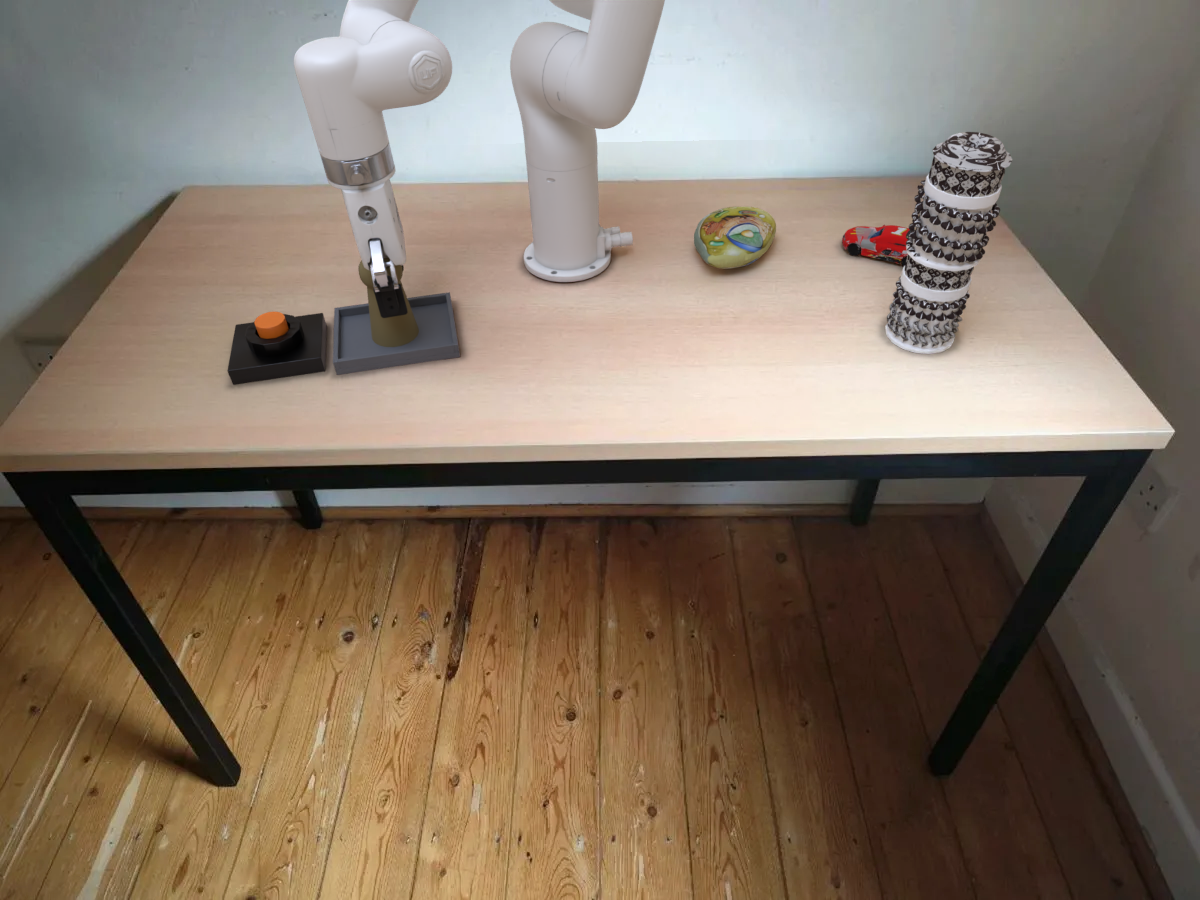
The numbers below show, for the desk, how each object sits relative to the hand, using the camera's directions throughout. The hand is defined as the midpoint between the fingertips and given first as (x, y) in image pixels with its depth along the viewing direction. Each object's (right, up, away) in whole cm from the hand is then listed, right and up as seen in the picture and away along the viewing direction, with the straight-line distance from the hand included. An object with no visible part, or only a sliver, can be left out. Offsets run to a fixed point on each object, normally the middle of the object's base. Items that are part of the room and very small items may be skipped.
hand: (393, 292), depth 104 cm
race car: (+67, +9, +16) cm, 70 cm away
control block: (-15, -7, +2) cm, 17 cm away
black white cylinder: (+66, -5, +2) cm, 66 cm away
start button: (-15, -5, 0) cm, 15 cm away
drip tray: (0, -5, +4) cm, 6 cm away
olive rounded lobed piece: (-1, -5, +4) cm, 6 cm away
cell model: (+45, +9, +18) cm, 50 cm away
